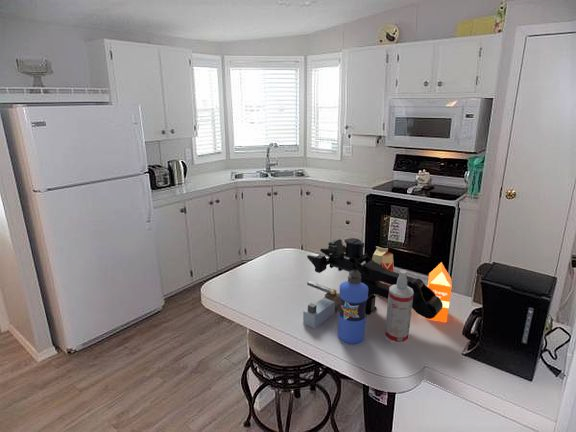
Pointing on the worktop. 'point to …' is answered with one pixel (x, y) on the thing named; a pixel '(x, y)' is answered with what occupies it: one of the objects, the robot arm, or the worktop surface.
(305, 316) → the blue-grey block
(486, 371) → the worktop surface
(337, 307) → the tan wooden block
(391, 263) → the milk carton
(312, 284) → the bar
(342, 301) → the blue bottle
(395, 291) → the spray bottle
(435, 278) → the orange juice
